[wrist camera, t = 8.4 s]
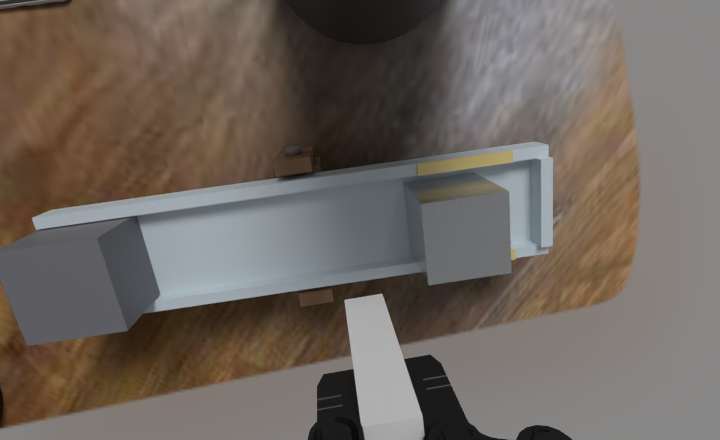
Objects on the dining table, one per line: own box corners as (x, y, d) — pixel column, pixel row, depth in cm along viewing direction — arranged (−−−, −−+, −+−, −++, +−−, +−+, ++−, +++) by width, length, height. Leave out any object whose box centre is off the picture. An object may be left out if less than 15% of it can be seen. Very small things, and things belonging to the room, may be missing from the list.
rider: (409, 249, 30) (428, 285, 25) (402, 182, 29) (421, 204, 23) (477, 239, 31) (511, 273, 25) (473, 172, 29) (509, 191, 23)
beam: (87, 310, 31) (32, 358, 25) (51, 209, 29) (-18, 238, 23) (535, 243, 32) (579, 276, 26) (534, 141, 30) (583, 152, 24)
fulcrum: (301, 278, 36) (296, 315, 30) (276, 142, 33) (265, 153, 27) (337, 272, 37) (340, 308, 31) (316, 137, 33) (314, 146, 27)
